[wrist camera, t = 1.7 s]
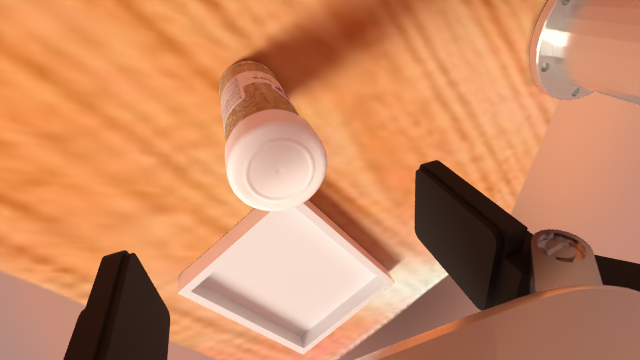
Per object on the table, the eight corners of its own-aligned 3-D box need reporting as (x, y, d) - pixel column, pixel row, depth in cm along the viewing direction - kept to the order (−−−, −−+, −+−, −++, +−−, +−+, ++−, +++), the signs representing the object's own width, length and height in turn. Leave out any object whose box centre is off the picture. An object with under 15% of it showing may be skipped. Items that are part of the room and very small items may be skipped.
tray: (386, 268, 41) (394, 282, 39) (298, 338, 43) (303, 354, 41) (286, 180, 31) (291, 193, 29) (178, 275, 33) (177, 293, 31)
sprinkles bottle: (289, 80, 27) (349, 153, 16) (258, 128, 28) (294, 228, 17) (236, 45, 25) (263, 102, 13) (205, 99, 26) (206, 192, 15)
